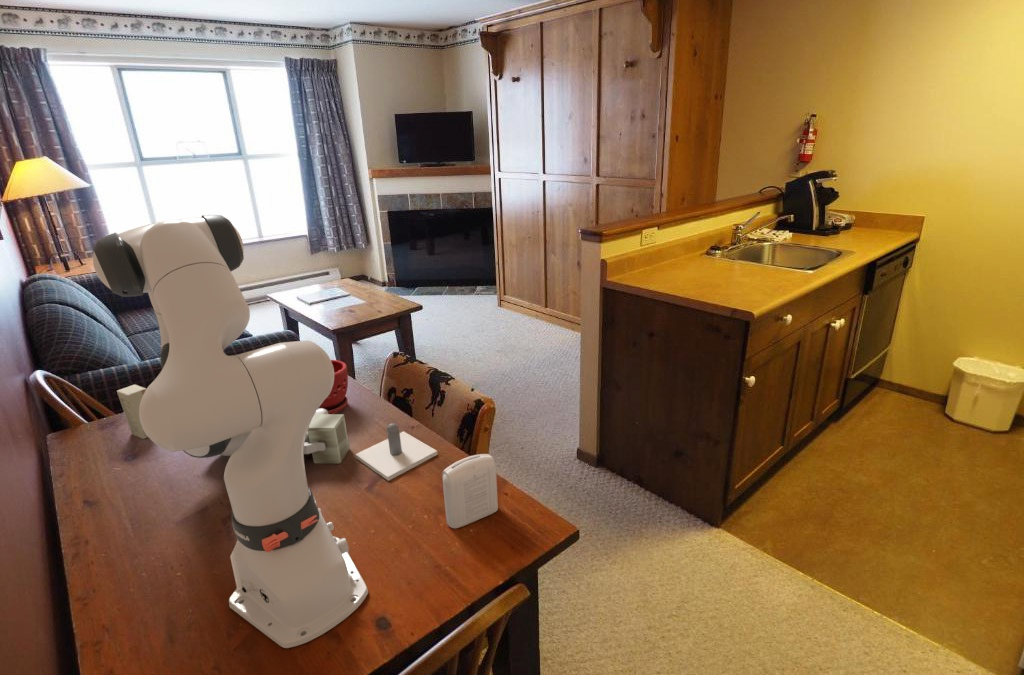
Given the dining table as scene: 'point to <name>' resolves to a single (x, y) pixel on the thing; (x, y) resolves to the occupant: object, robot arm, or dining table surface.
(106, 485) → the dining table surface
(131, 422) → the skincare box
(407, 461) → the post stand
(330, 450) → the sage recessed panel box
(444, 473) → the photo printer
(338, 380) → the plant pot
